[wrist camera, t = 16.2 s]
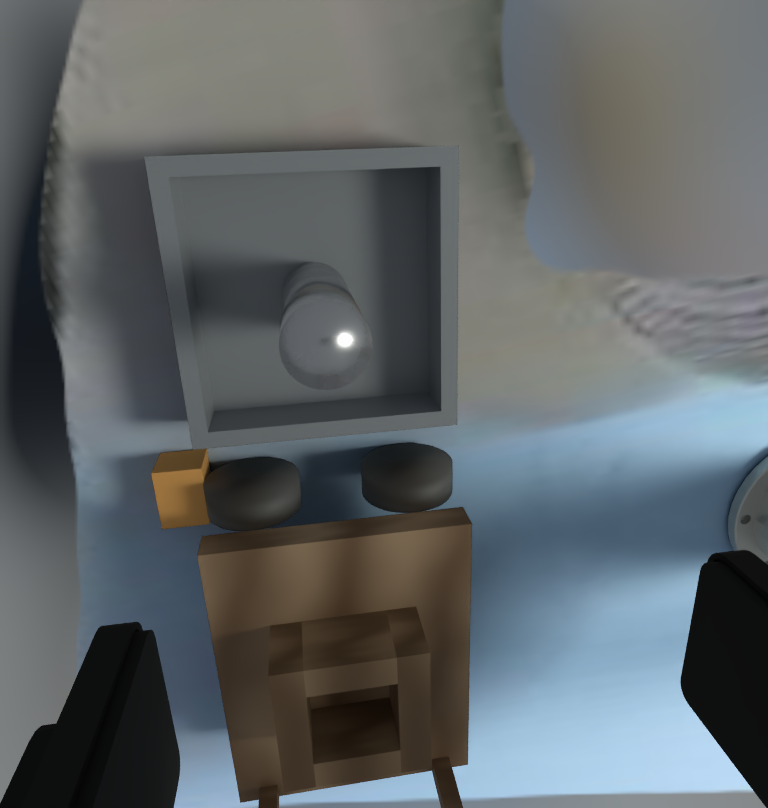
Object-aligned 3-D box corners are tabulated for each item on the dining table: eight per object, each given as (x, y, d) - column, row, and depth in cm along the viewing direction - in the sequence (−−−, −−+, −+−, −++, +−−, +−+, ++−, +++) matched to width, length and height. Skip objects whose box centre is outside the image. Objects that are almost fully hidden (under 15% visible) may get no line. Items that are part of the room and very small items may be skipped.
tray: (439, 148, 36) (458, 145, 32) (440, 399, 42) (457, 424, 38) (161, 158, 34) (144, 156, 30) (202, 421, 40) (192, 449, 36)
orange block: (206, 448, 41) (201, 468, 38) (215, 500, 42) (209, 523, 39) (160, 452, 40) (151, 473, 37) (170, 505, 42) (162, 529, 39)
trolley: (440, 439, 43) (545, 619, 26) (441, 696, 52) (520, 962, 34) (208, 462, 41) (151, 674, 24) (250, 725, 50) (230, 1023, 32)
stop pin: (345, 260, 37) (370, 296, 25) (349, 325, 38) (374, 386, 27) (278, 264, 36) (274, 302, 25) (285, 329, 38) (283, 393, 26)
